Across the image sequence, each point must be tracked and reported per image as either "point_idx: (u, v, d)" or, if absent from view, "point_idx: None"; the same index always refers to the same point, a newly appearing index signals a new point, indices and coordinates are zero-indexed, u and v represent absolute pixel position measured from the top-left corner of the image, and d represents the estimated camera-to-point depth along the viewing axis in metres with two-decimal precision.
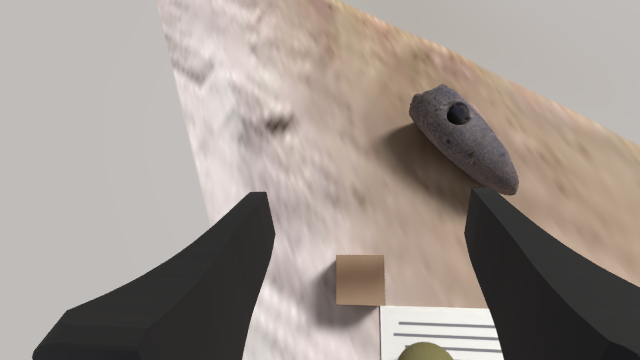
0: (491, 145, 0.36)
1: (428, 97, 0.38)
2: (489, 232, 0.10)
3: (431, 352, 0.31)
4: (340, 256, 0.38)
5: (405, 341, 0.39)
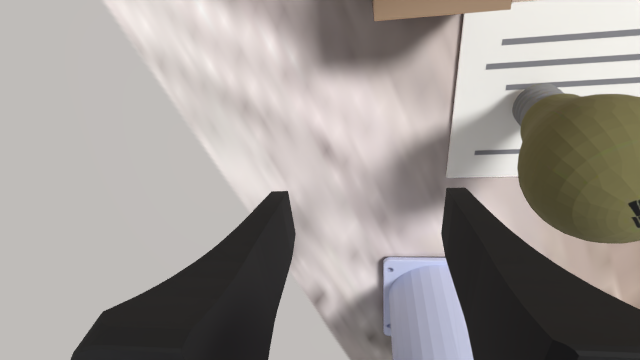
0: None
1: None
2: (461, 232, 0.10)
3: None
4: None
5: (508, 77, 0.19)
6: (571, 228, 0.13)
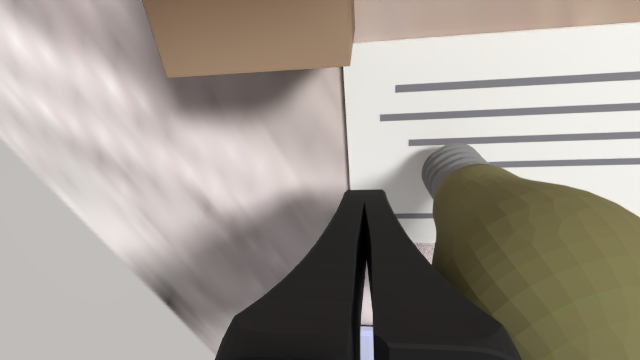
0: None
1: None
2: (367, 232, 0.11)
3: (638, 272, 0.07)
4: None
5: (409, 131, 0.15)
6: None
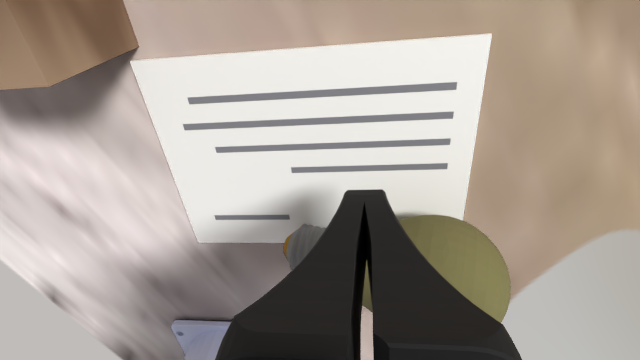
0: None
1: None
2: (367, 232, 0.11)
3: None
4: None
5: (213, 139, 0.16)
6: None
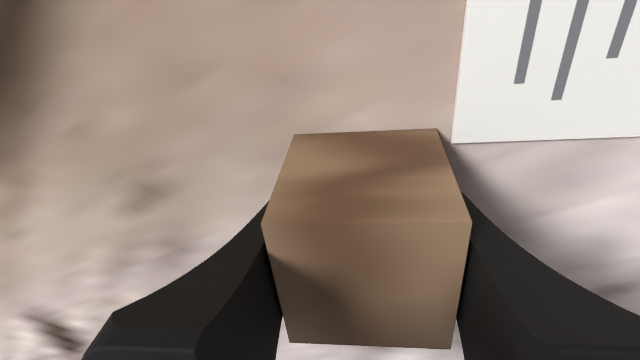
0: None
1: None
2: None
3: None
4: (292, 334, 0.11)
5: (591, 58, 0.10)
6: None
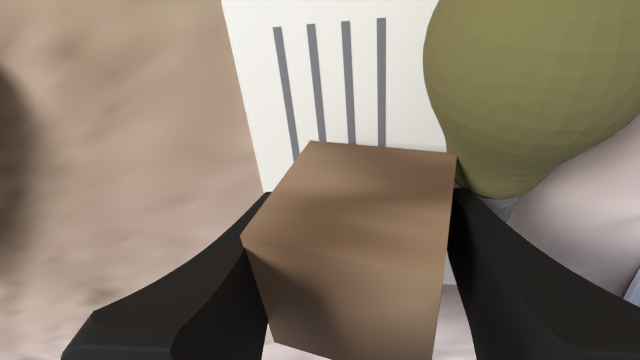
0: None
1: None
2: (463, 232, 0.10)
3: (591, 35, 0.07)
4: (276, 335, 0.12)
5: None
6: None
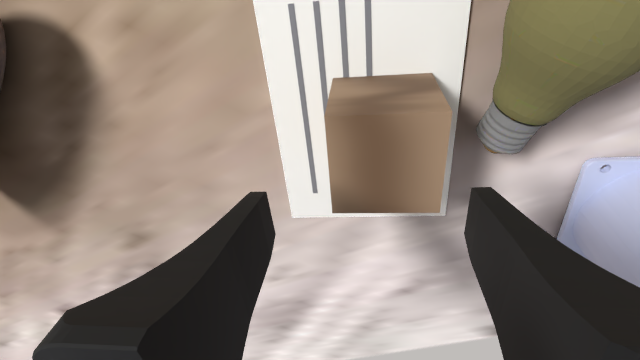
0: None
1: None
2: (488, 232, 0.10)
3: None
4: (334, 205, 0.17)
5: None
6: None
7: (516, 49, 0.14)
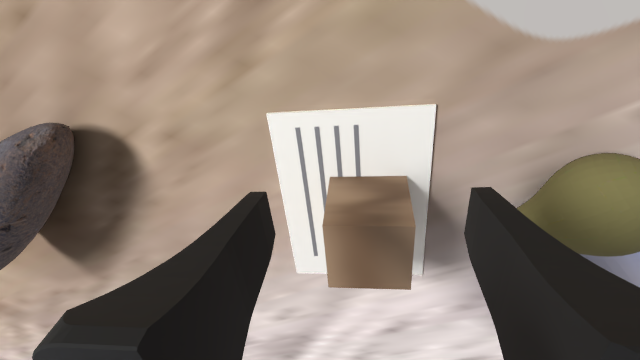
0: None
1: None
2: (488, 232, 0.10)
3: None
4: (330, 282, 0.22)
5: None
6: None
7: None
